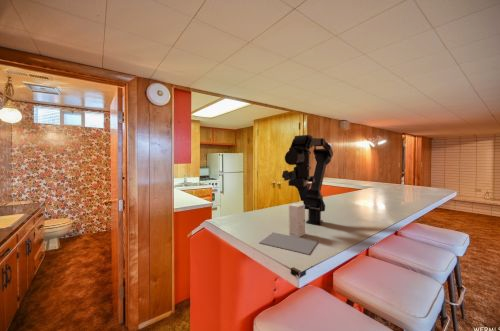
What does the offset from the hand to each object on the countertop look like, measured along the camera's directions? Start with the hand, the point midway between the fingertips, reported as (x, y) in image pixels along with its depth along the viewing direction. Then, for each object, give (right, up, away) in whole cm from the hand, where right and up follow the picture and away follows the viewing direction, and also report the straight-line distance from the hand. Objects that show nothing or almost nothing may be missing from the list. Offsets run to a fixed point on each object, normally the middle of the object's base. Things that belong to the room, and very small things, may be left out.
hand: (302, 200), depth 89 cm
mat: (-9, -13, -14) cm, 21 cm away
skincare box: (-4, -13, -6) cm, 15 cm away
